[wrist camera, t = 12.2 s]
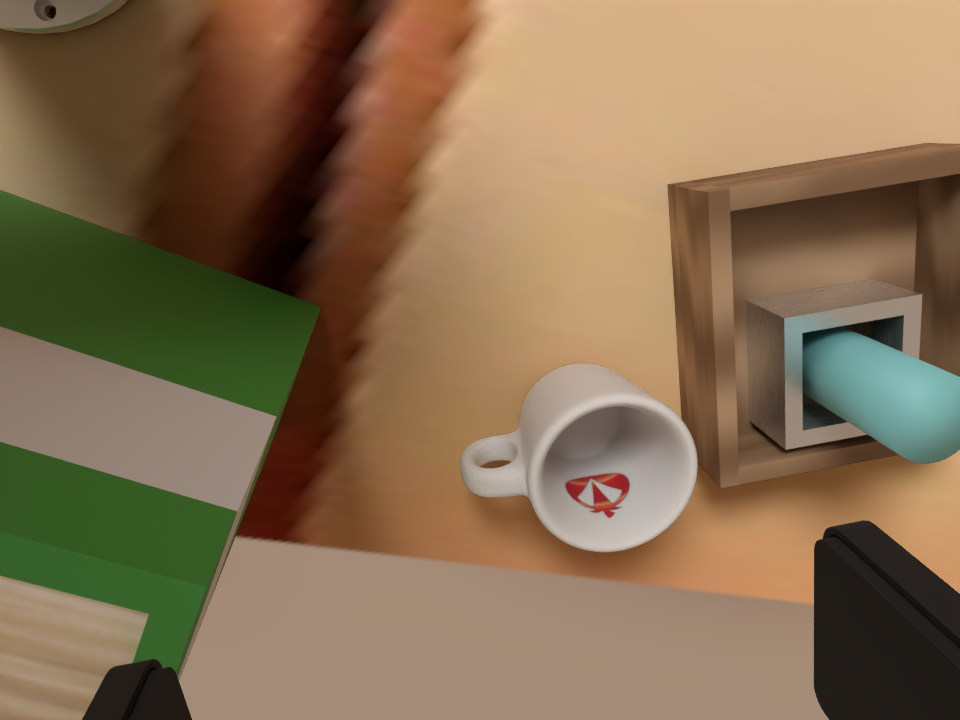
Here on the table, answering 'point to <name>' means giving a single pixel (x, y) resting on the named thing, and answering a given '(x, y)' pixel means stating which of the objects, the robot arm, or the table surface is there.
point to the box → (804, 281)
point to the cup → (591, 460)
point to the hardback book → (122, 447)
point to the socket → (779, 351)
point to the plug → (883, 393)
